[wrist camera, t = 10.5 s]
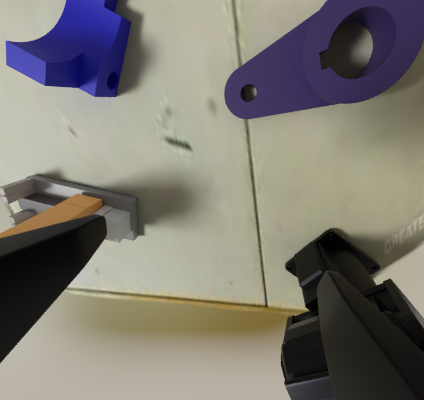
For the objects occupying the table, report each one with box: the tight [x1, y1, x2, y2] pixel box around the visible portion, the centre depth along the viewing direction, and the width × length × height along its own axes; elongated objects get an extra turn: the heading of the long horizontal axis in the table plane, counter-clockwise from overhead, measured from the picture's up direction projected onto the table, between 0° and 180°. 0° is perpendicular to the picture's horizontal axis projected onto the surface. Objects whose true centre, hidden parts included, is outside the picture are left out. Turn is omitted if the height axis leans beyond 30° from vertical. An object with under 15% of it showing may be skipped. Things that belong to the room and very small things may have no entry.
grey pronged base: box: [0, 175, 138, 243], centre depth 24 cm, size 14×5×4 cm, turn 82°
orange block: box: [0, 194, 102, 238], centre depth 20 cm, size 3×5×11 cm
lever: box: [224, 0, 424, 119], centre depth 15 cm, size 12×6×3 cm, turn 110°
